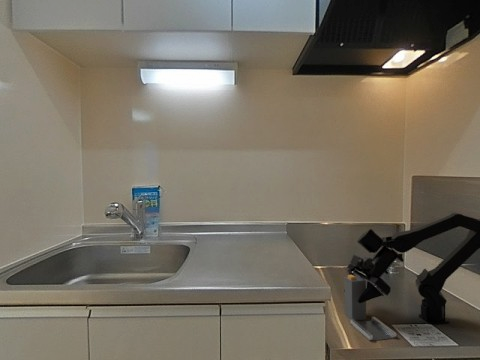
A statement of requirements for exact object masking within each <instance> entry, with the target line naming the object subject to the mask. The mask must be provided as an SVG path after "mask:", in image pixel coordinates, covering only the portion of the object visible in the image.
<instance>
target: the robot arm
mask: <svg viewBox="0 0 480 360" xmlns="http://www.w3.org/2000/svg"><path fill="white" fill-rule="evenodd" d="M458 227H460V228H463V229H466V230H469V231H468V232H467V234H466V237H465V239H464V240H463V241H462V242H460V243H459V244H458V246H456V247H455V248H454V249H453V250H452V251H451V252H450V253H449V254H447V256H446V257H445V258H444V259H443V260H441V262H440V263H438V264H437V266H436V267H434V268H433V269H431V270H428V269H427V268H424V269H422V271H421V273H419V274H418V275H416V279H415V288H416V289H417V292H418V294H419V295H420V296H421V298H423V299H421V304H420V313H419V314H418V317H419V318H421V319H423V320H424V321H426V322H427V323H428V324H429V323H430V324H431V325H437V324H449V323H450V319H449V320H448V319H447V318H446V304H447V299H446V298H445V296H444V294H443V293H442V292H441V291H442V289H443V288H444V286H445V284H446V281H447V279H448V278H450V277H451V275H453V274H454V273H455V272H456V271H457V270H458V269H459V268H460V267H461V266H462V265H464V263H465V262H467V261H468V260H469V258H471V257H472V256H473V255H474V254H475V253H476V252H477V251H478V250H479V249H480V218H478V219H477V218H474V217H472V216H468V215H463V214H462V213H460V212H459V213H458V212H452V213H450V214H449V215H447V216H445V217H442V218H440V219H438V220H434V221H432V222H429V223H427V224H424V225H422V226H420V227H417V228H414V229H409V230H403V231H399V232H398V231H397V232H395V233H393V234H392V235H391V236H384V237H381V236H379V234H378V233H376V232H375V231H374V230H373V229H372V228H369V229H368V230H366V231H365V232H363V233H362V234H361V235H360V236H359V238H358V239H357V240H356V243H357V244H359V245H360V246H361V247H362V248H363V249H365V250H366V251H367V252H368V253H369V254H371V253H372V254H375V253H376V254H375V255H374V256H373V257H372V258H371V257H366V256H365V257H360V256H358V255H356V254H353V256H352V258H351V260H350V263H349V264H348V266H346V269H347V272H348V275H353V276H359V277H361V278H362V279H364V280H366V289H365V291H364V292H363V293H362V295H361V296H360V298H359V299H358V302H359V303H363V302H365V301H366V302H368V301H370V300H374V299H375V298H378V297H379V298H380V297H385V296H387V297H388V296H389V295H390V294H391V292H392V289H391V286H390V285H389V284H388V283H387V282H386V281H385V280H384V279H383V278H382V276H384V274H385V275H388V274H389V271H388V270H389V268H390V267H391V266H392V265H393V264H394V263H395V261H397V262H399V263H403V262H404V258H403V257H404V256H403V254H404V253H407V252H409V251H410V250H412V249H414V248H416V246H418V245H419V244H420V243H422V242H424V241H425V240H428V239H431V238H433V237H436V236H439V235H441V234H443V233H445V232H448V231H451V230H453V229H456V228H458ZM398 252H399V253H398ZM343 292H344V293H345V288H344V289H343Z"/></svg>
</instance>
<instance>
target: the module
mask: <svg viewBox="0 0 480 360" xmlns="http://www.w3.org/2000/svg"><path fill="white" fill-rule="evenodd" d="M343 279H344V282H343V283H344V289H345V292H344V315H345V316H346V317H347V318H348V319H354V320H355V321H360V320H361V321H362V320H363V321H364V320H367V301H365V302H363V303H359V302H358V299H359V298H360V296H361V295H362V293H363V292H364V291H365V289H366V288H367V280H365V279H362V278H361V277H359V276H353V275H349V274H348V275H347V276H344V278H343Z"/></svg>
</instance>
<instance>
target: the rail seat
mask: <svg viewBox="0 0 480 360" xmlns="http://www.w3.org/2000/svg"><path fill="white" fill-rule="evenodd" d="M349 319H350V318H349ZM349 322H350V325H351V326H352V327H354V329H356V330H357V331H358V333H360V334H362V336H364V337H365V338H366V339H367V340H368V341H369V342H373V341H382V340H390V339H396V338H397V332H395V331H394V330H393V329H391V328H390V327H389V326H388V325H386V324H385V323H383V322H382V321H381V320H380V319H378V318H377V317H375V316H371V320H365V321H364V320H363V321H357V320H354V319H350V321H349Z"/></svg>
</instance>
